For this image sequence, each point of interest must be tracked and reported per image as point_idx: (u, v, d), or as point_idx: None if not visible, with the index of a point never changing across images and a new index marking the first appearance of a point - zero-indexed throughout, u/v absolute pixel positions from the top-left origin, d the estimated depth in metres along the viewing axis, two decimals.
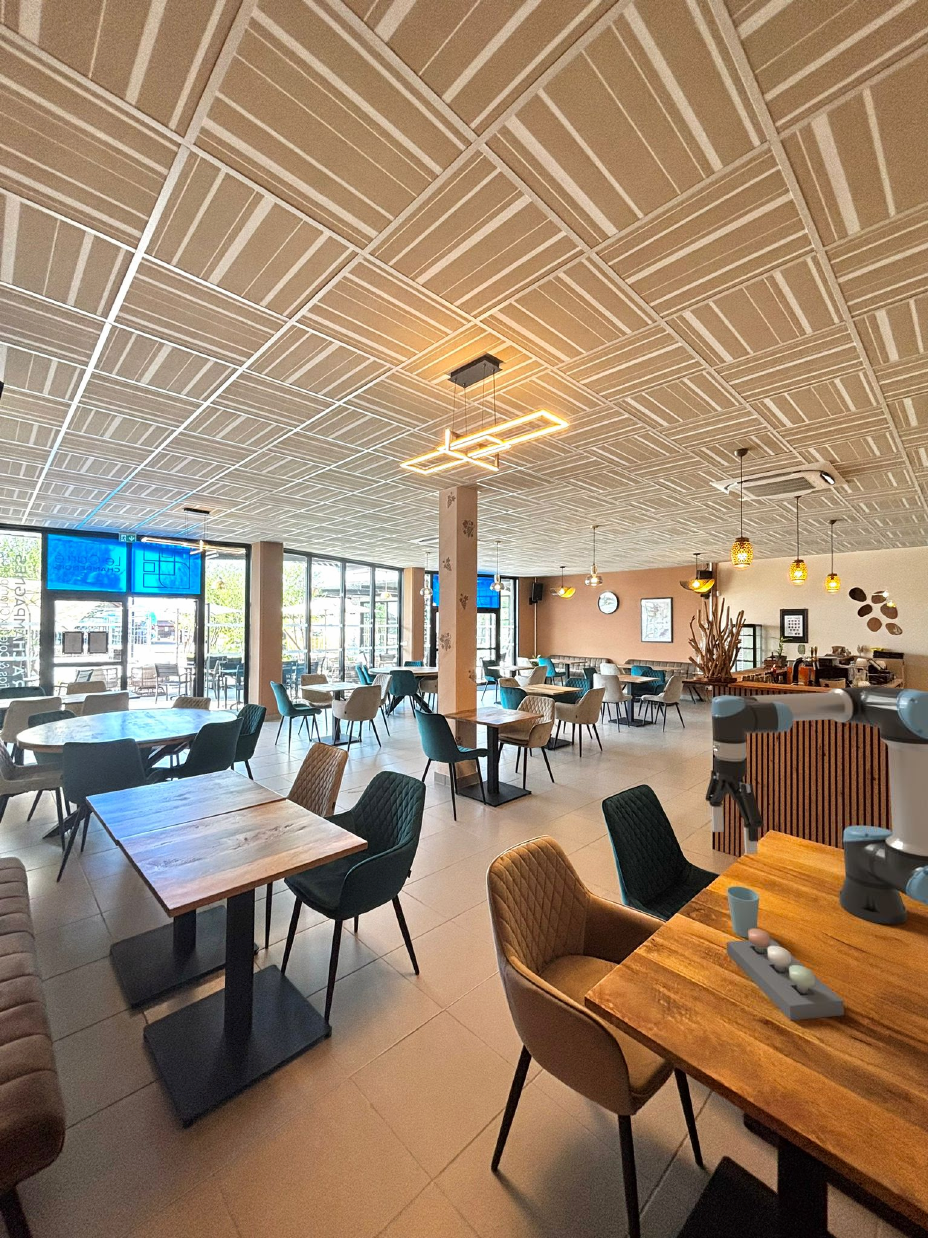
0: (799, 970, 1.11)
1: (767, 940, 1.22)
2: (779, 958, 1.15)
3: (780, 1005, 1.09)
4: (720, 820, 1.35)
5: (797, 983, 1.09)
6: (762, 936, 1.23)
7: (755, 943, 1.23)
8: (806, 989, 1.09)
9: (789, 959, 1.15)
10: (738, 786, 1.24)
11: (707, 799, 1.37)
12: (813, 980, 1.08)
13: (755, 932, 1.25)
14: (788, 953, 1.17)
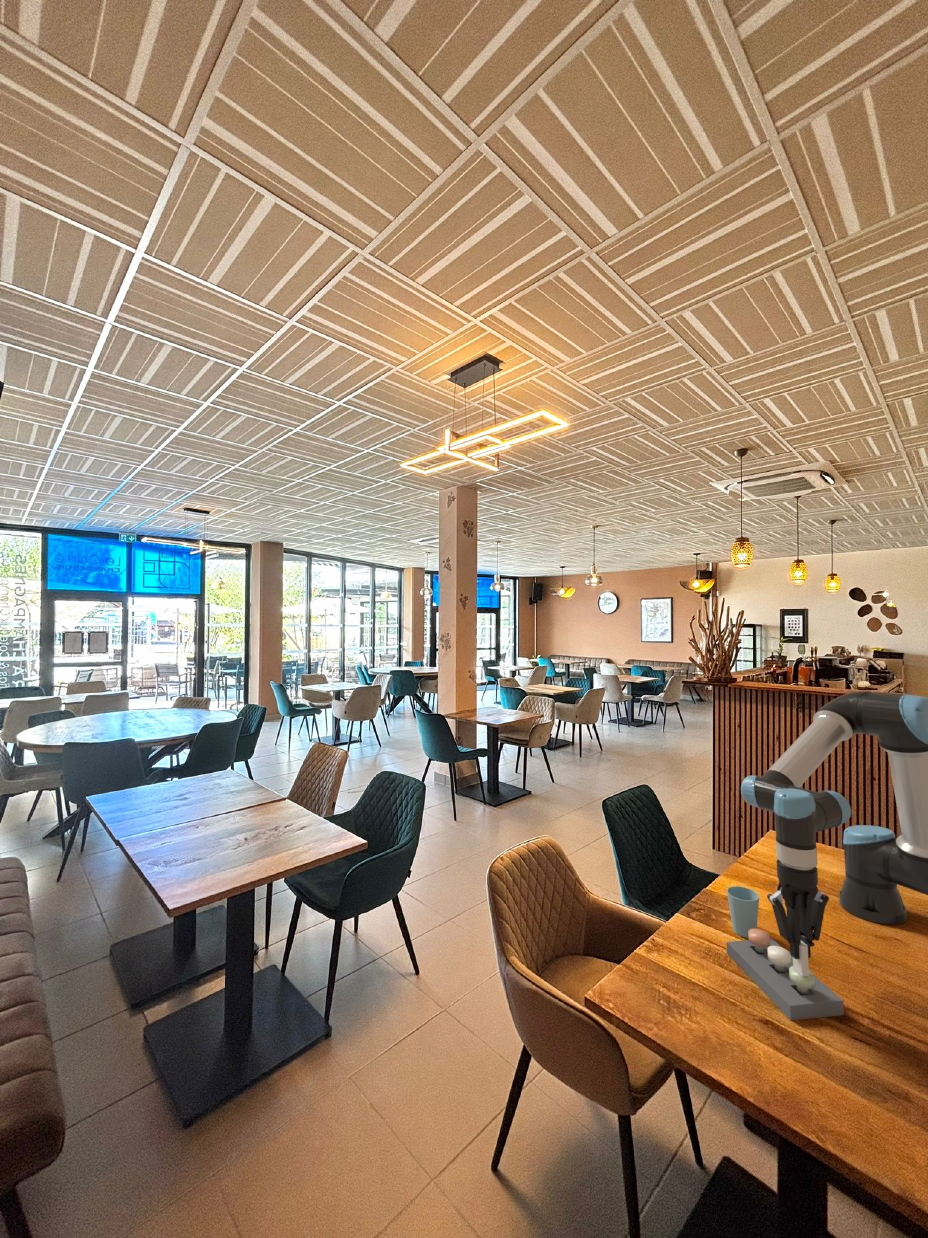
0: None
1: (767, 940, 1.22)
2: (779, 958, 1.15)
3: (780, 1005, 1.09)
4: None
5: (797, 984, 1.09)
6: (762, 936, 1.23)
7: (755, 943, 1.23)
8: (806, 990, 1.09)
9: (789, 959, 1.15)
10: None
11: None
12: (813, 981, 1.08)
13: (755, 932, 1.25)
14: (788, 953, 1.17)
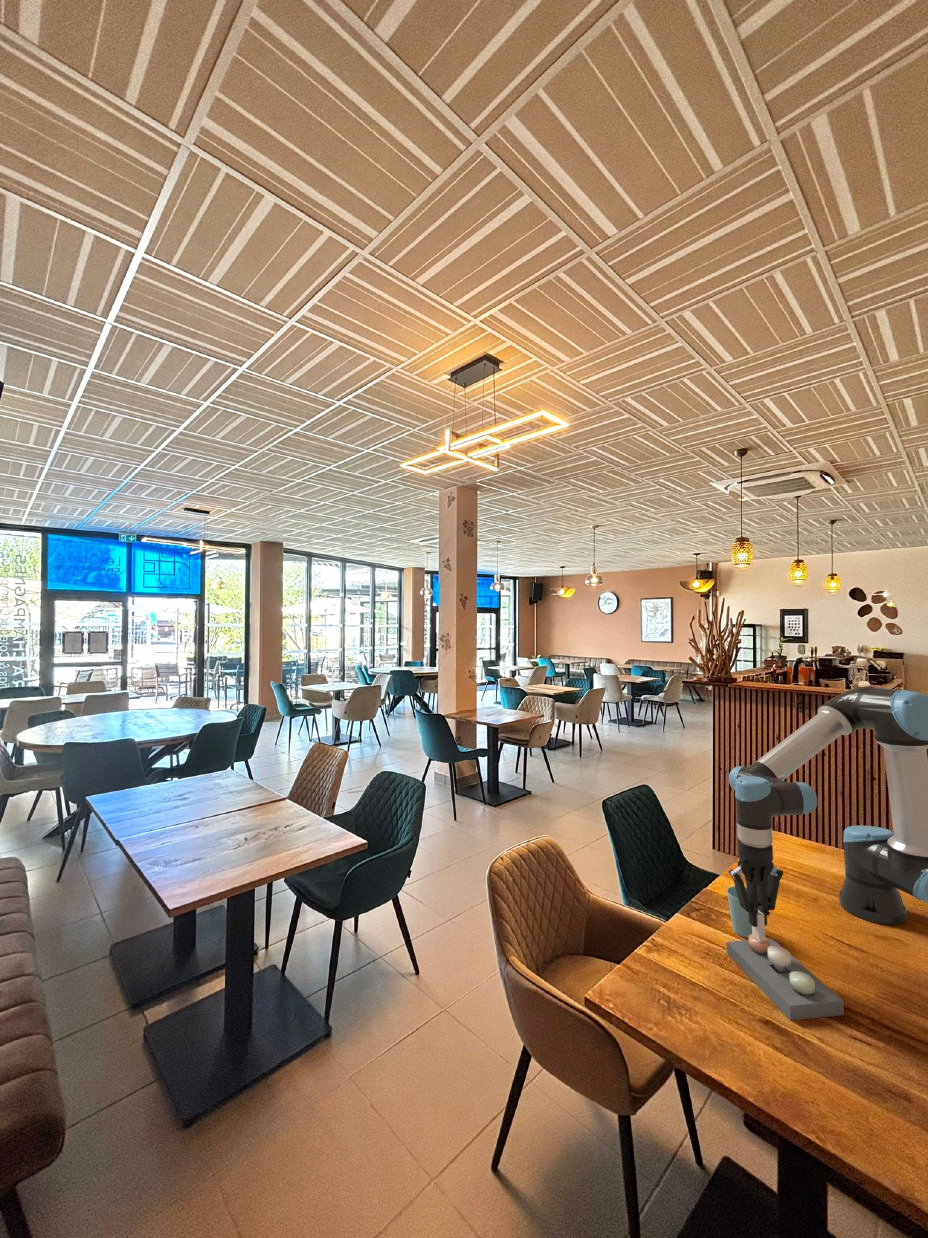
0: (799, 976, 1.11)
1: (767, 945, 1.22)
2: (779, 958, 1.15)
3: (780, 1005, 1.09)
4: None
5: (797, 989, 1.09)
6: (762, 942, 1.23)
7: (755, 948, 1.23)
8: None
9: (789, 959, 1.15)
10: None
11: None
12: (813, 986, 1.08)
13: None
14: (788, 953, 1.17)
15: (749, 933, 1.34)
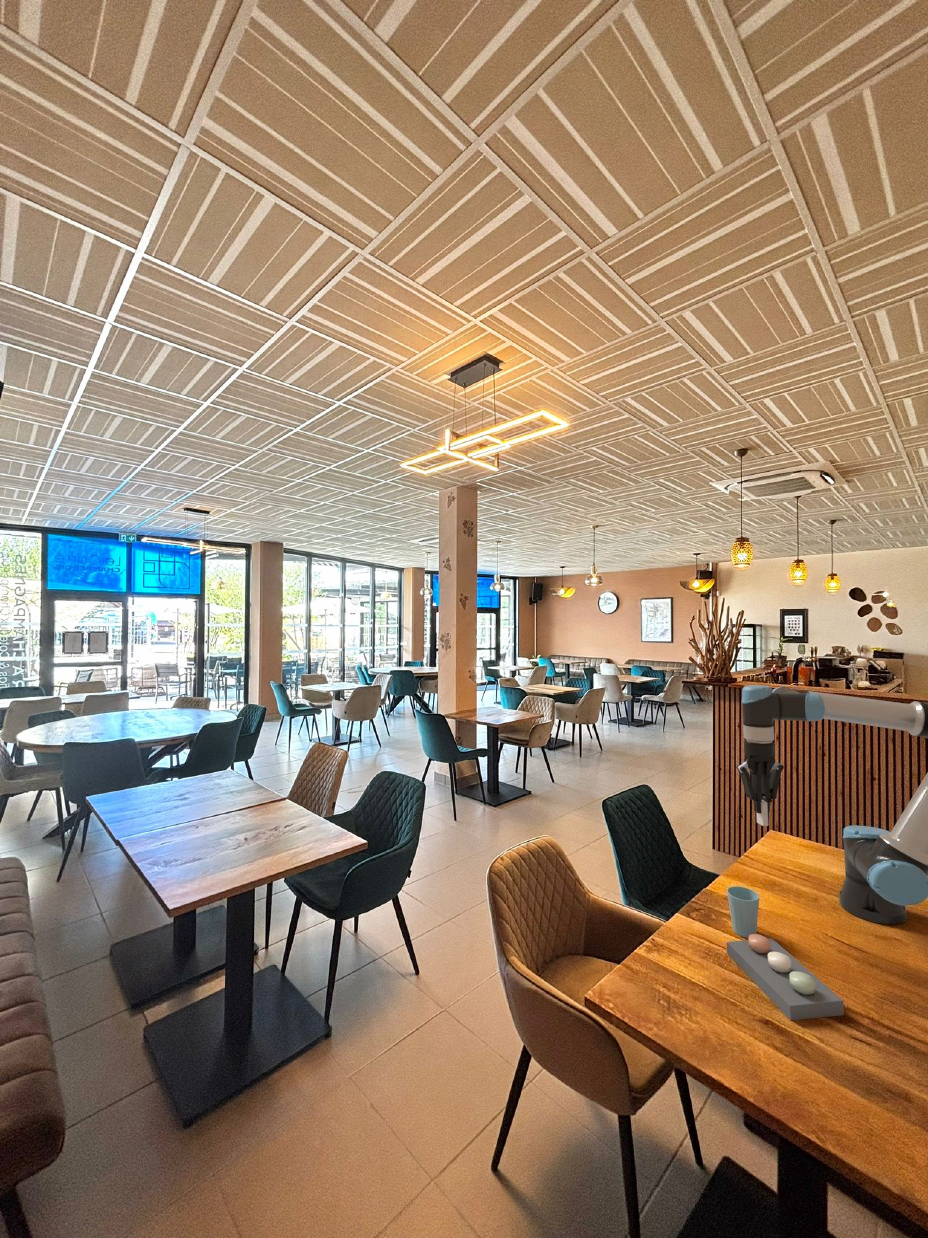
0: (799, 976, 1.11)
1: (767, 946, 1.22)
2: (779, 964, 1.15)
3: (780, 1005, 1.09)
4: None
5: (797, 989, 1.09)
6: (762, 942, 1.23)
7: (755, 949, 1.23)
8: None
9: (789, 965, 1.15)
10: None
11: None
12: (813, 986, 1.08)
13: (756, 938, 1.25)
14: (788, 959, 1.17)
15: (749, 933, 1.34)
